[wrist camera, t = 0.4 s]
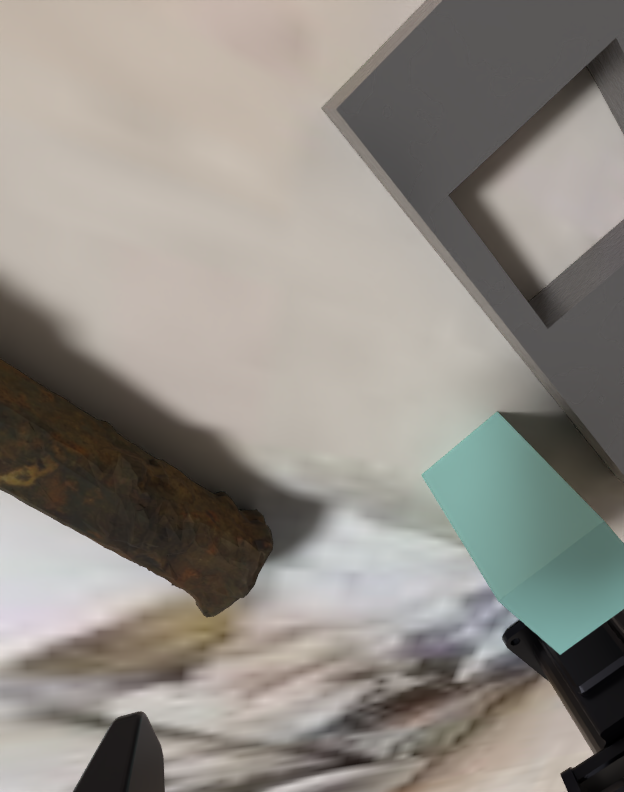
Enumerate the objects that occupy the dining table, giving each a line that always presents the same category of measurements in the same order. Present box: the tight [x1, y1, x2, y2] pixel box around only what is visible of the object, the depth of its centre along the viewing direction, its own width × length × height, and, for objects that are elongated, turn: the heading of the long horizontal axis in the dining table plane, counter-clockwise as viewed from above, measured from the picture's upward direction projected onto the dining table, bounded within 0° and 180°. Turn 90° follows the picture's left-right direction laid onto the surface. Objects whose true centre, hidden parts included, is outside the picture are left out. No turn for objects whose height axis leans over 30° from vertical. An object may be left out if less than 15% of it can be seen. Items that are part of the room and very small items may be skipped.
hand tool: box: [0, 359, 273, 617], centre depth 18 cm, size 19×4×5 cm, turn 43°
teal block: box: [422, 412, 624, 655], centre depth 22 cm, size 4×4×7 cm
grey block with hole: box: [322, 0, 624, 483], centre depth 20 cm, size 20×8×2 cm, turn 42°
